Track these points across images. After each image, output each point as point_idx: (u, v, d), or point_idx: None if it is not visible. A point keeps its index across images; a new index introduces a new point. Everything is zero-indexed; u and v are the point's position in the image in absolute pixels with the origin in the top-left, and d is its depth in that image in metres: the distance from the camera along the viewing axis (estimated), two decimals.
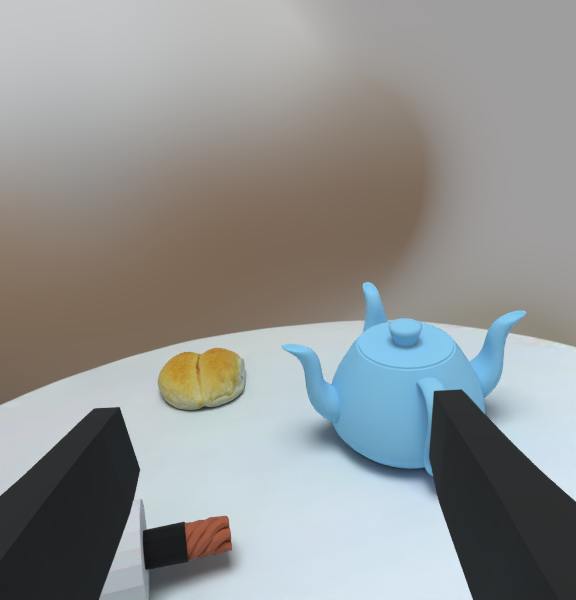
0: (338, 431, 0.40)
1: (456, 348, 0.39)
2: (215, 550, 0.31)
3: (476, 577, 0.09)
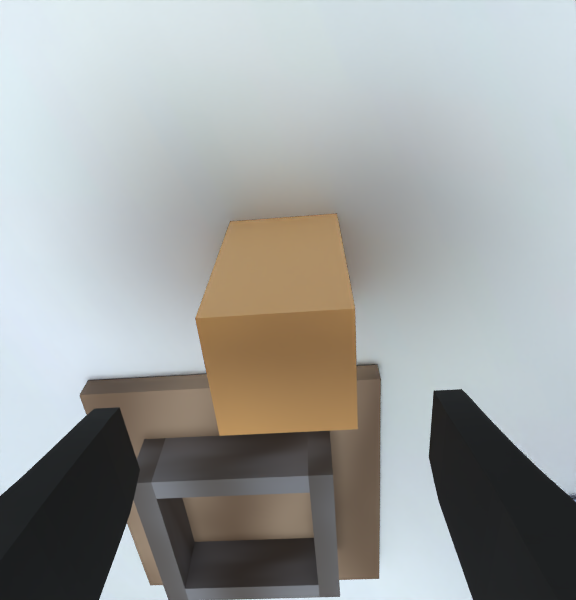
0: None
1: None
2: None
3: (476, 577, 0.09)
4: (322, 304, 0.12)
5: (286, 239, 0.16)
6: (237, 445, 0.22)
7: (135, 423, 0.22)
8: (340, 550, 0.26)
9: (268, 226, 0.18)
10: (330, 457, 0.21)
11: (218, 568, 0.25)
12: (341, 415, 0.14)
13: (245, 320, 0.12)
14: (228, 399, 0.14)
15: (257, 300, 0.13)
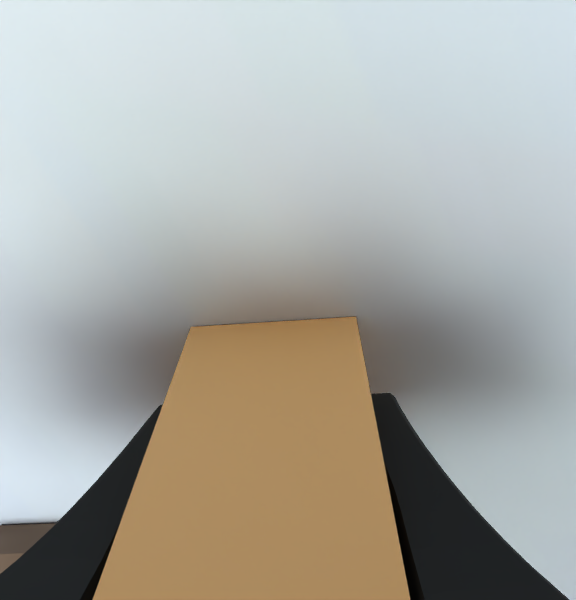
0: None
1: None
2: None
3: None
4: None
5: (275, 378, 0.10)
6: None
7: None
8: None
9: (248, 342, 0.11)
10: None
11: None
12: None
13: None
14: None
15: (212, 576, 0.06)
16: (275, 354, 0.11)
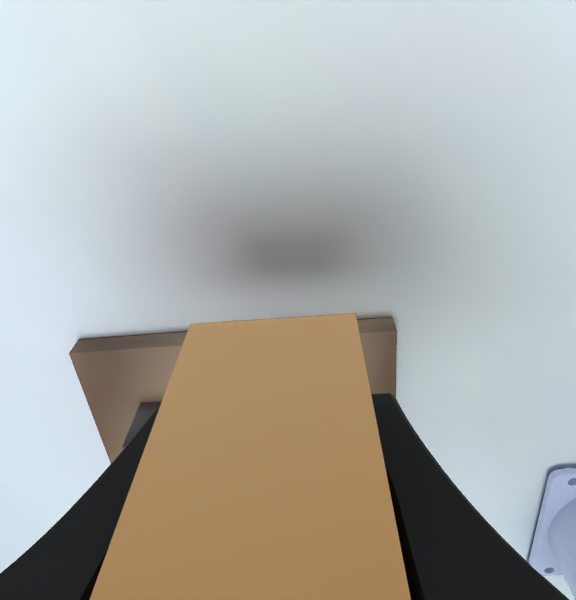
0: None
1: None
2: None
3: None
4: None
5: (275, 375, 0.10)
6: None
7: (130, 384, 0.20)
8: None
9: (248, 339, 0.11)
10: None
11: None
12: None
13: None
14: None
15: (211, 571, 0.06)
16: (274, 351, 0.11)
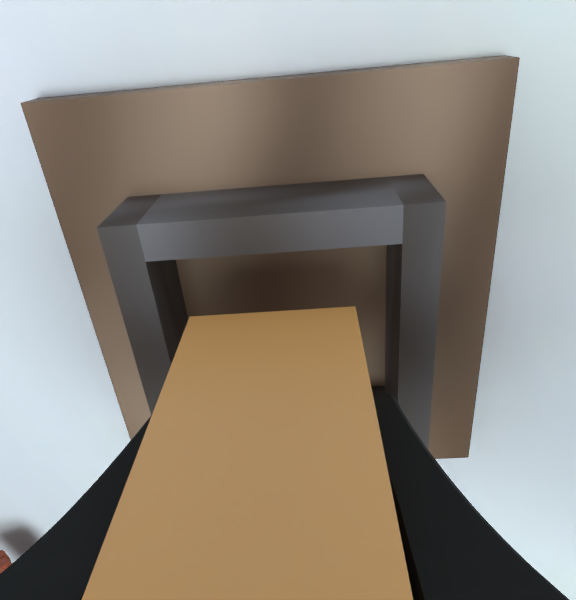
0: None
1: None
2: None
3: None
4: (342, 589, 0.06)
5: (274, 366, 0.10)
6: (277, 192, 0.13)
7: (113, 163, 0.14)
8: None
9: (247, 331, 0.11)
10: (434, 190, 0.12)
11: None
12: None
13: None
14: None
15: (209, 559, 0.06)
16: (274, 343, 0.11)
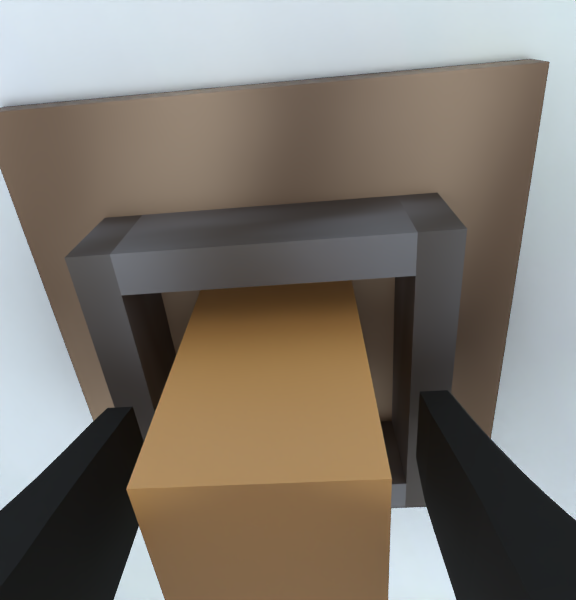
0: None
1: None
2: None
3: (459, 578, 0.09)
4: (335, 465, 0.08)
5: (279, 317, 0.12)
6: (272, 213, 0.12)
7: (87, 181, 0.12)
8: None
9: (255, 291, 0.13)
10: (452, 214, 0.11)
11: None
12: None
13: (209, 492, 0.07)
14: (187, 591, 0.09)
15: (230, 448, 0.08)
16: (279, 299, 0.12)
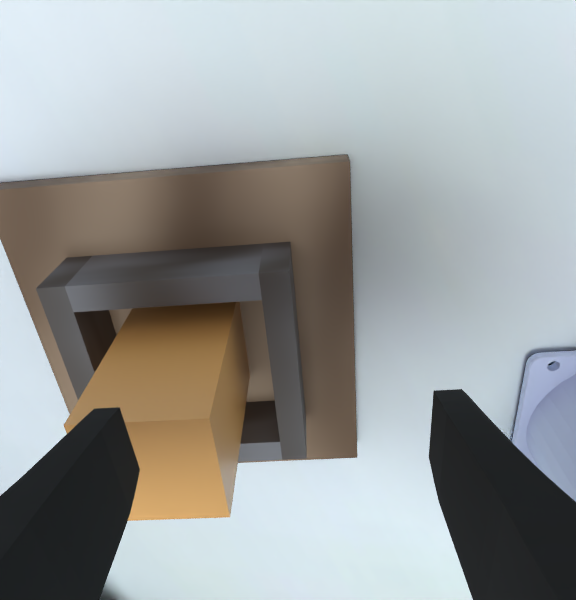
0: None
1: None
2: None
3: (476, 577, 0.09)
4: (182, 412, 0.13)
5: (179, 326, 0.17)
6: (176, 257, 0.18)
7: (53, 233, 0.18)
8: (310, 418, 0.22)
9: (170, 307, 0.19)
10: (288, 259, 0.17)
11: None
12: (213, 506, 0.15)
13: None
14: None
15: (126, 404, 0.14)
16: (183, 314, 0.18)
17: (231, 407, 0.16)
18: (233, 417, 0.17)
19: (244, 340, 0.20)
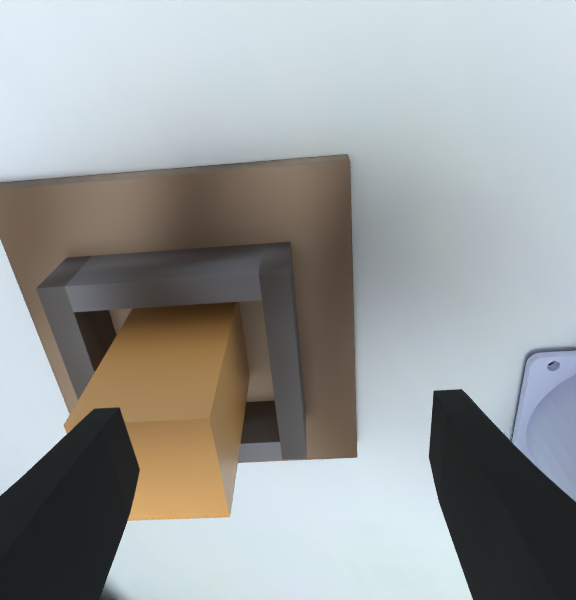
0: None
1: None
2: None
3: (476, 577, 0.09)
4: (182, 412, 0.13)
5: (179, 326, 0.17)
6: (176, 257, 0.18)
7: (53, 233, 0.18)
8: (310, 418, 0.22)
9: (170, 307, 0.19)
10: (288, 259, 0.17)
11: None
12: (213, 506, 0.15)
13: None
14: None
15: (126, 404, 0.14)
16: (183, 314, 0.18)
17: (231, 407, 0.16)
18: (233, 417, 0.17)
19: (244, 340, 0.20)
